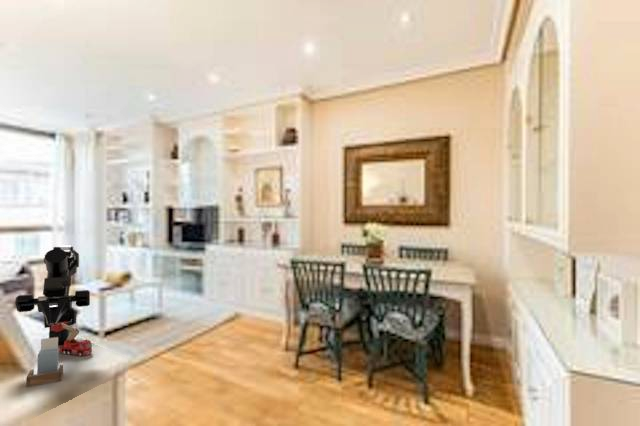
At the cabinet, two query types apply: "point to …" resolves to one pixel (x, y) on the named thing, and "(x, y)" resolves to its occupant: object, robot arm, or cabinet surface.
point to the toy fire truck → (72, 341)
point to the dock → (43, 377)
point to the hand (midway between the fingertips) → (51, 324)
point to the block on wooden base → (48, 356)
